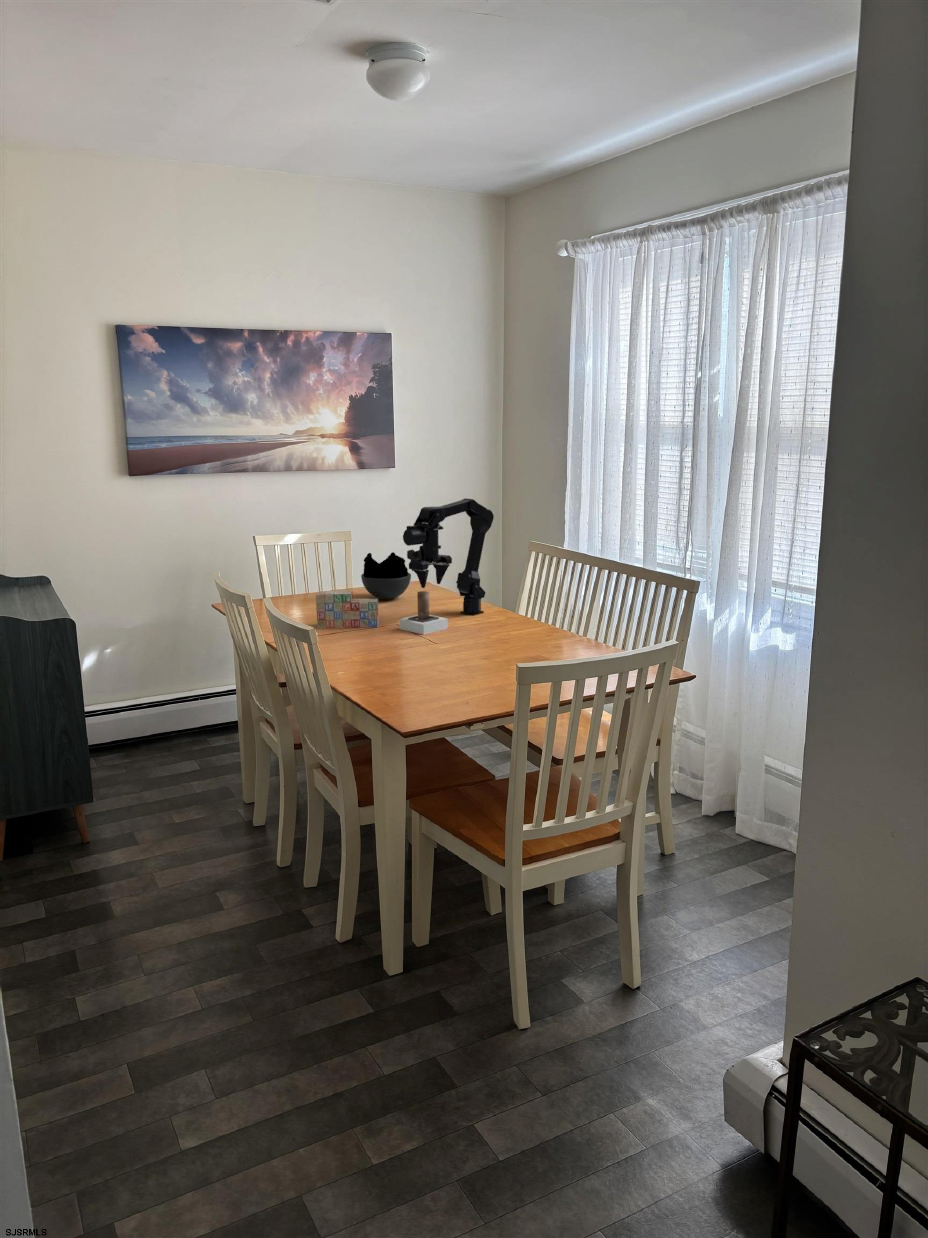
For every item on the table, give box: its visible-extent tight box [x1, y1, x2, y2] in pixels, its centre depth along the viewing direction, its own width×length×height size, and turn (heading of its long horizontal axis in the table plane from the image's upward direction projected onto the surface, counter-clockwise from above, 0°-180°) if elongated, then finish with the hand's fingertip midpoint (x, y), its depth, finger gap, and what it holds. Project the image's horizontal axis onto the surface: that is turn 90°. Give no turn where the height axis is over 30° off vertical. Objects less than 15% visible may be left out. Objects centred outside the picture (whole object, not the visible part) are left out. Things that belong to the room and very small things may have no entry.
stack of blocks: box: [315, 590, 380, 629], centre depth 319 cm, size 21×6×12 cm, turn 90°
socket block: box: [398, 614, 449, 635], centre depth 315 cm, size 12×12×4 cm
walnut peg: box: [416, 590, 430, 620], centre depth 314 cm, size 4×4×13 cm
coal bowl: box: [360, 552, 412, 600], centre depth 363 cm, size 20×20×19 cm
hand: (430, 586), depth 323 cm, fingers open, 9 cm apart
